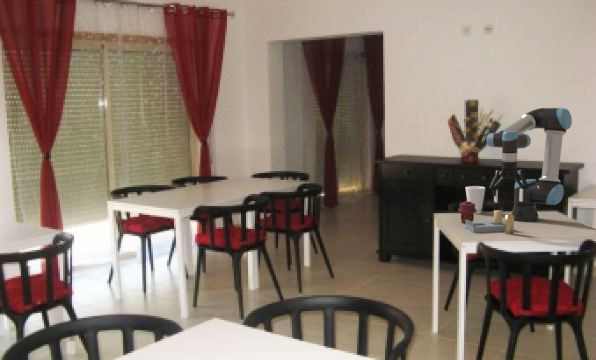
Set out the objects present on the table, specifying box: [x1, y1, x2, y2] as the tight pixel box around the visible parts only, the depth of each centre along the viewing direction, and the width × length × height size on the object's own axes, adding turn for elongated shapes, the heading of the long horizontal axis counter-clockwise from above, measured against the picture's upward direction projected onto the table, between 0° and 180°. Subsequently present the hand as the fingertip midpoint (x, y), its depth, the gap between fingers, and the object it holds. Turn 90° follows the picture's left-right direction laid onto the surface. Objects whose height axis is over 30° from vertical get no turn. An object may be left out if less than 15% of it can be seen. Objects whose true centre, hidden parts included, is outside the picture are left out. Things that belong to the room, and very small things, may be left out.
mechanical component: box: [457, 200, 476, 224], centre depth 356 cm, size 12×10×10 cm
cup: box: [465, 185, 486, 215], centre depth 386 cm, size 12×12×16 cm
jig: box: [464, 209, 505, 234], centre depth 338 cm, size 22×12×10 cm, turn 96°
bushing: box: [504, 213, 515, 235], centre depth 327 cm, size 4×4×10 cm
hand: (508, 201), depth 326 cm, fingers open, 13 cm apart
